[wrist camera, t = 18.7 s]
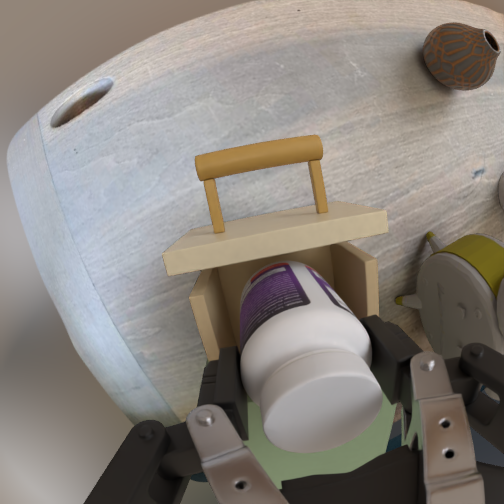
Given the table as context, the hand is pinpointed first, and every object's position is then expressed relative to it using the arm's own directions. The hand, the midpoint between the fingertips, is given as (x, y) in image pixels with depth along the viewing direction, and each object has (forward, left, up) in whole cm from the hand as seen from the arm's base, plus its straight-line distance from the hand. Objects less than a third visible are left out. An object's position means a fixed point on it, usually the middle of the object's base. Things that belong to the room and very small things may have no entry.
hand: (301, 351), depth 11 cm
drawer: (0, 0, -10) cm, 10 cm away
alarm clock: (+14, -5, -12) cm, 19 cm away
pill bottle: (0, 0, -6) cm, 6 cm away
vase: (+21, +17, -12) cm, 30 cm away
